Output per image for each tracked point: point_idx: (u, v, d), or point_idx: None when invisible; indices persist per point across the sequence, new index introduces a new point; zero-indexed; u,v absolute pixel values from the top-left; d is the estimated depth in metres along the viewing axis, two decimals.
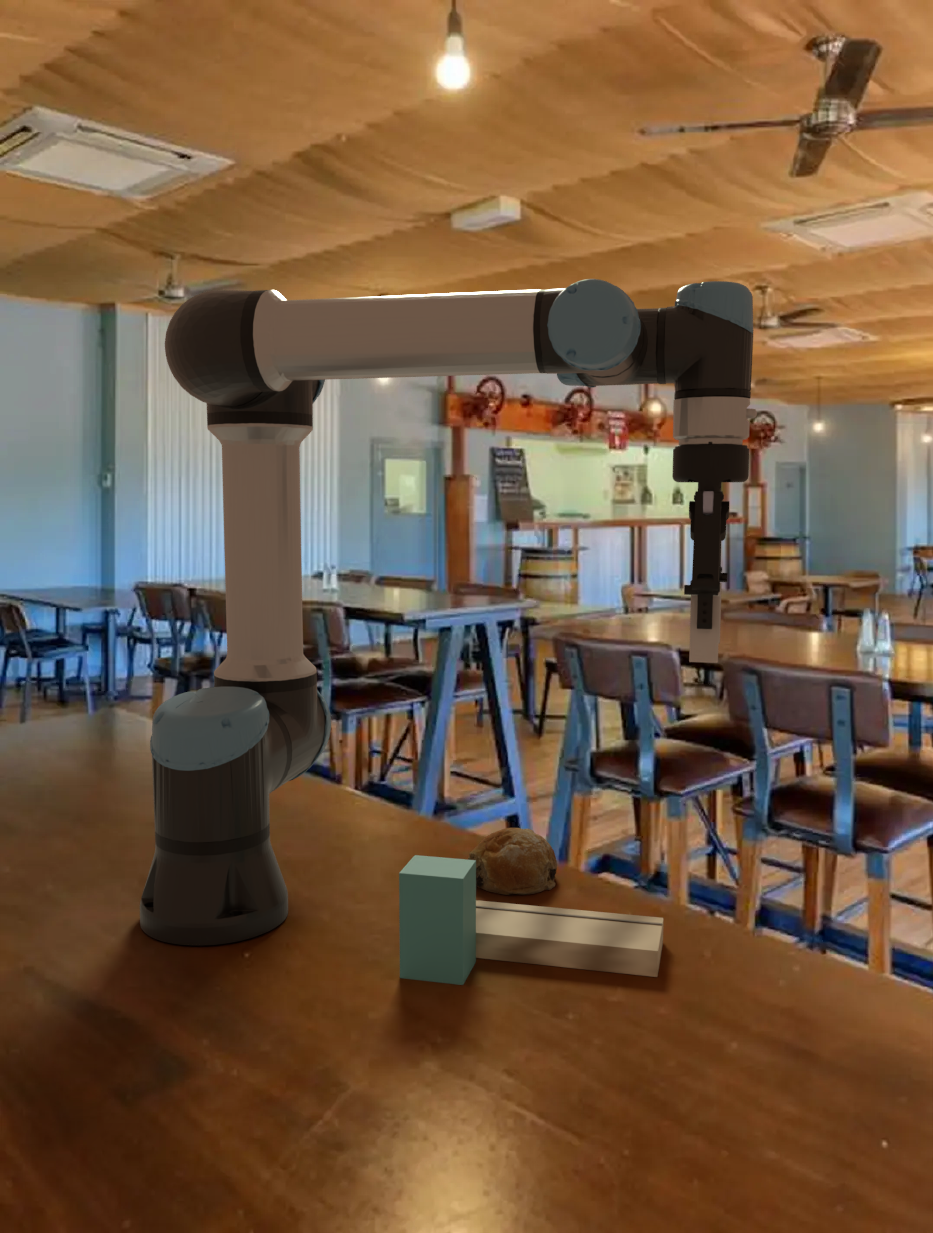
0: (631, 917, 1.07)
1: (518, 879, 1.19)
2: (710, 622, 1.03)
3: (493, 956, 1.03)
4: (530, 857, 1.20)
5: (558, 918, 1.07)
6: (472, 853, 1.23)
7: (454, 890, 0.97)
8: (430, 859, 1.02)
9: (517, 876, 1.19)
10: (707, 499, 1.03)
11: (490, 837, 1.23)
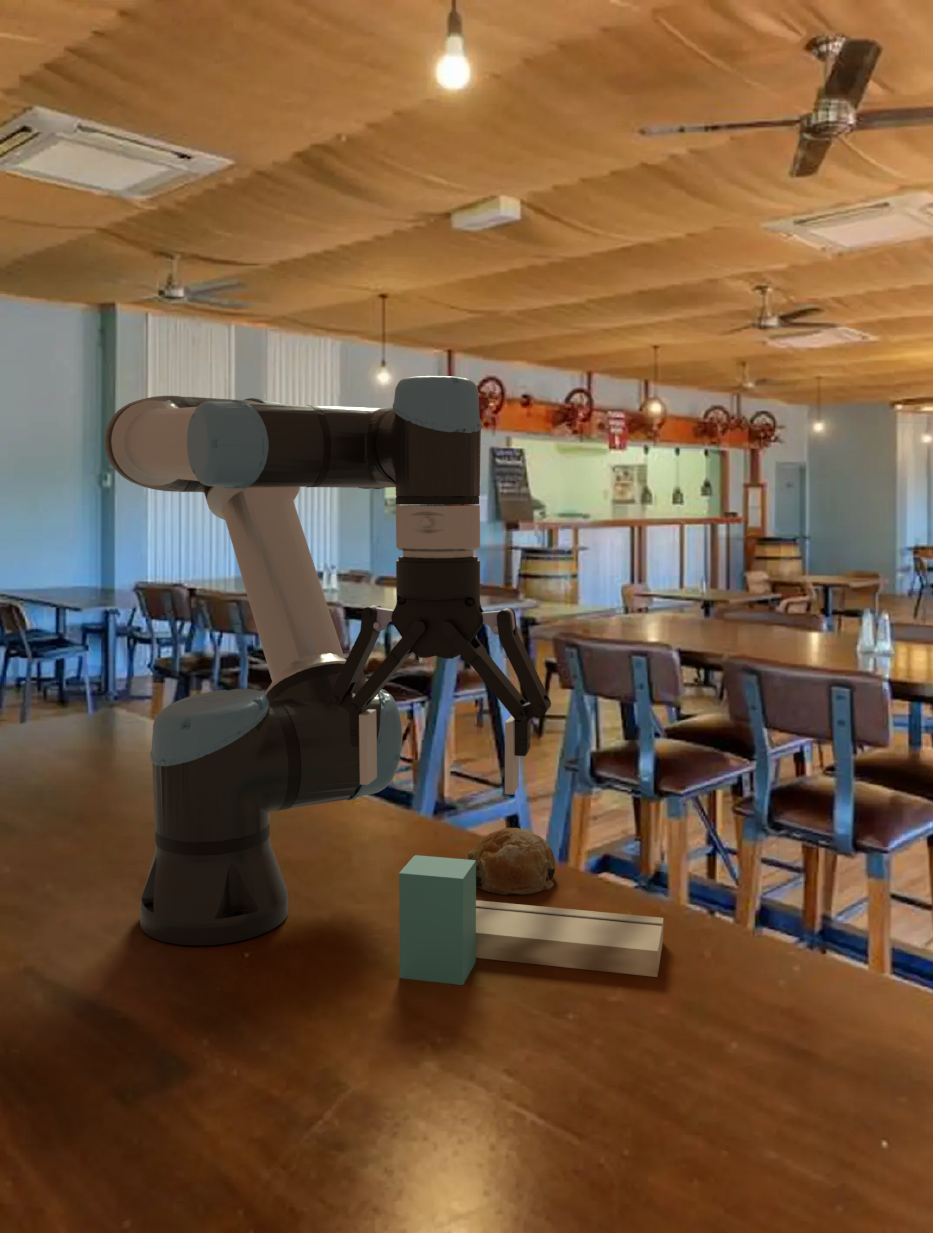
0: (631, 917, 1.07)
1: (516, 879, 1.19)
2: (350, 738, 1.00)
3: (493, 956, 1.03)
4: (528, 857, 1.20)
5: (558, 918, 1.07)
6: (471, 853, 1.23)
7: (454, 890, 0.97)
8: (430, 859, 1.02)
9: (516, 876, 1.19)
10: None
11: (489, 837, 1.23)
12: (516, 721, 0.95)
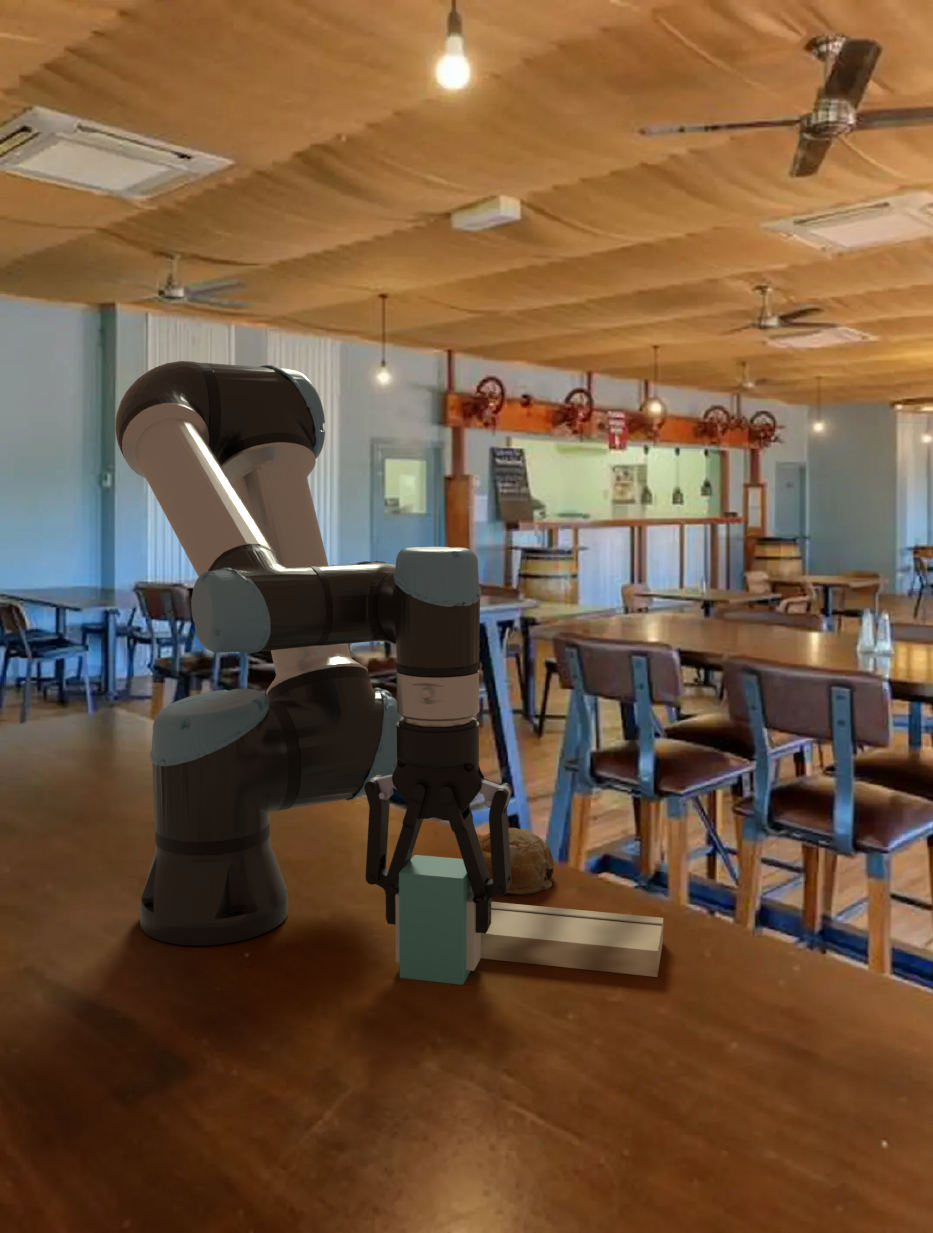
0: (631, 917, 1.07)
1: (515, 879, 1.19)
2: (386, 916, 1.01)
3: (493, 956, 1.03)
4: (526, 857, 1.20)
5: (558, 918, 1.07)
6: None
7: (454, 890, 0.97)
8: (430, 858, 1.02)
9: (514, 876, 1.19)
10: None
11: (487, 837, 1.23)
12: (475, 900, 0.98)
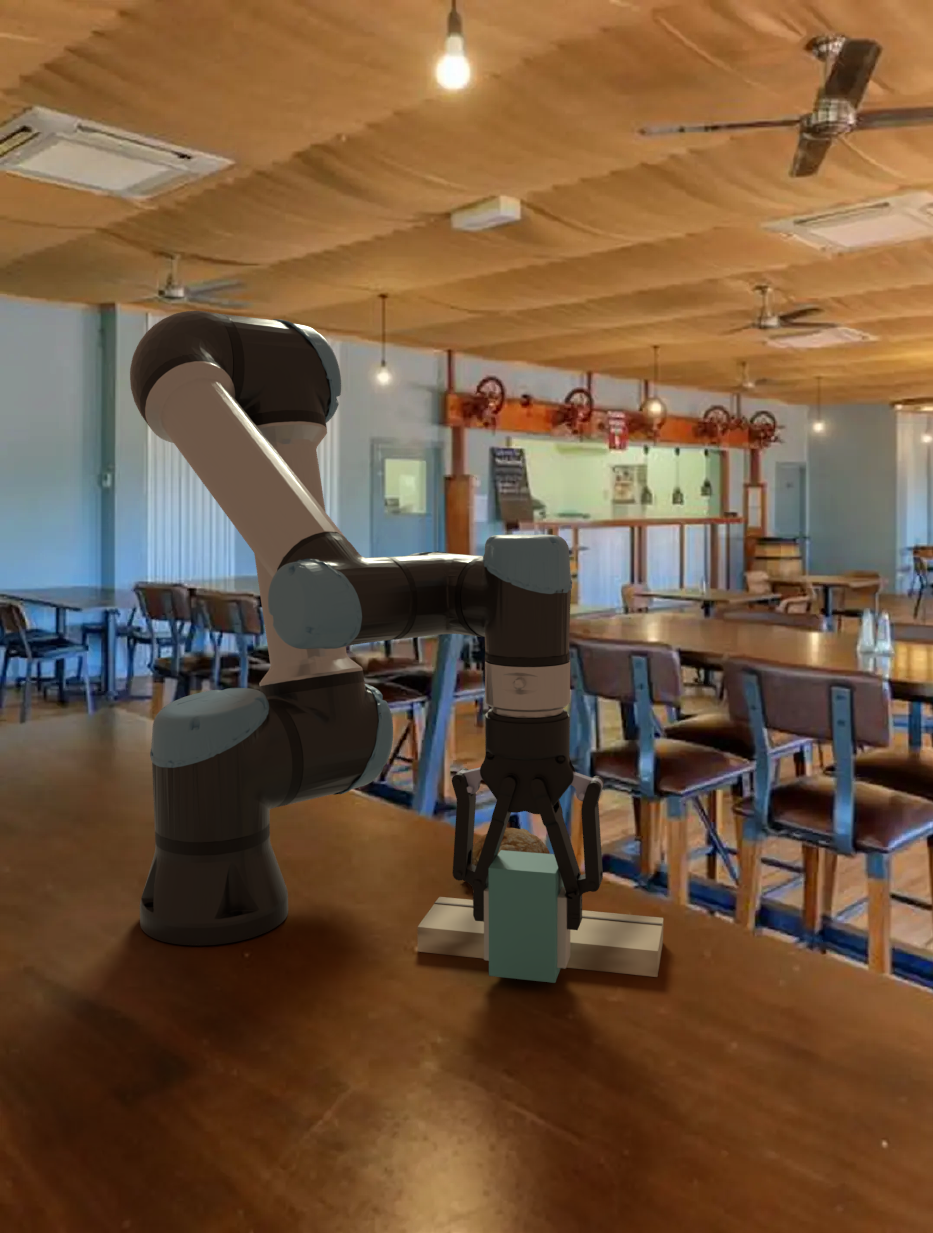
0: (631, 917, 1.07)
1: None
2: None
3: None
4: None
5: None
6: None
7: (546, 885, 0.95)
8: (518, 854, 1.00)
9: None
10: None
11: (485, 837, 1.23)
12: (567, 896, 0.95)
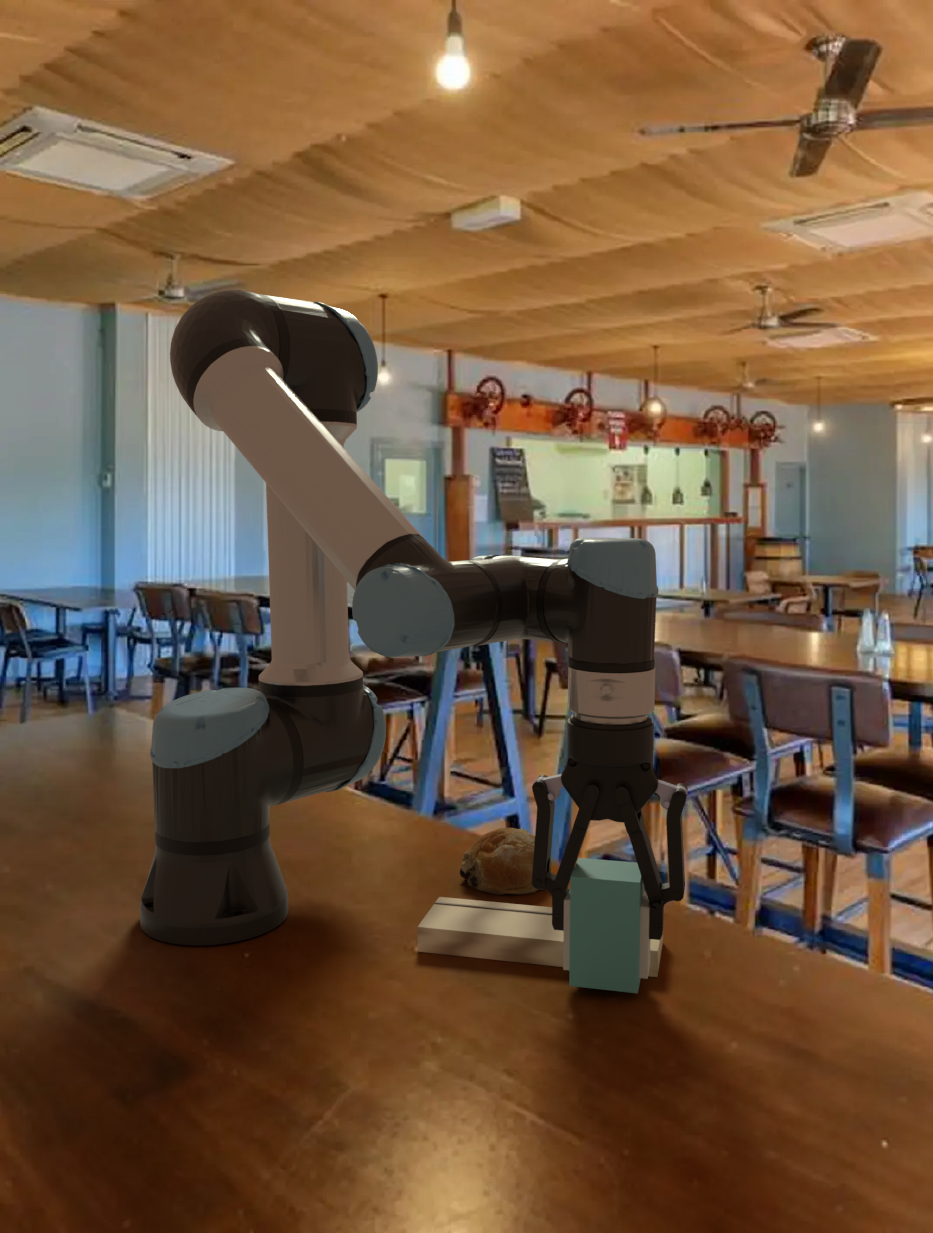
0: None
1: (512, 879, 1.19)
2: (552, 921, 0.97)
3: (493, 956, 1.03)
4: (524, 857, 1.20)
5: None
6: (466, 853, 1.23)
7: (630, 894, 0.93)
8: (597, 862, 0.98)
9: (511, 876, 1.19)
10: None
11: (484, 837, 1.23)
12: (650, 906, 0.94)
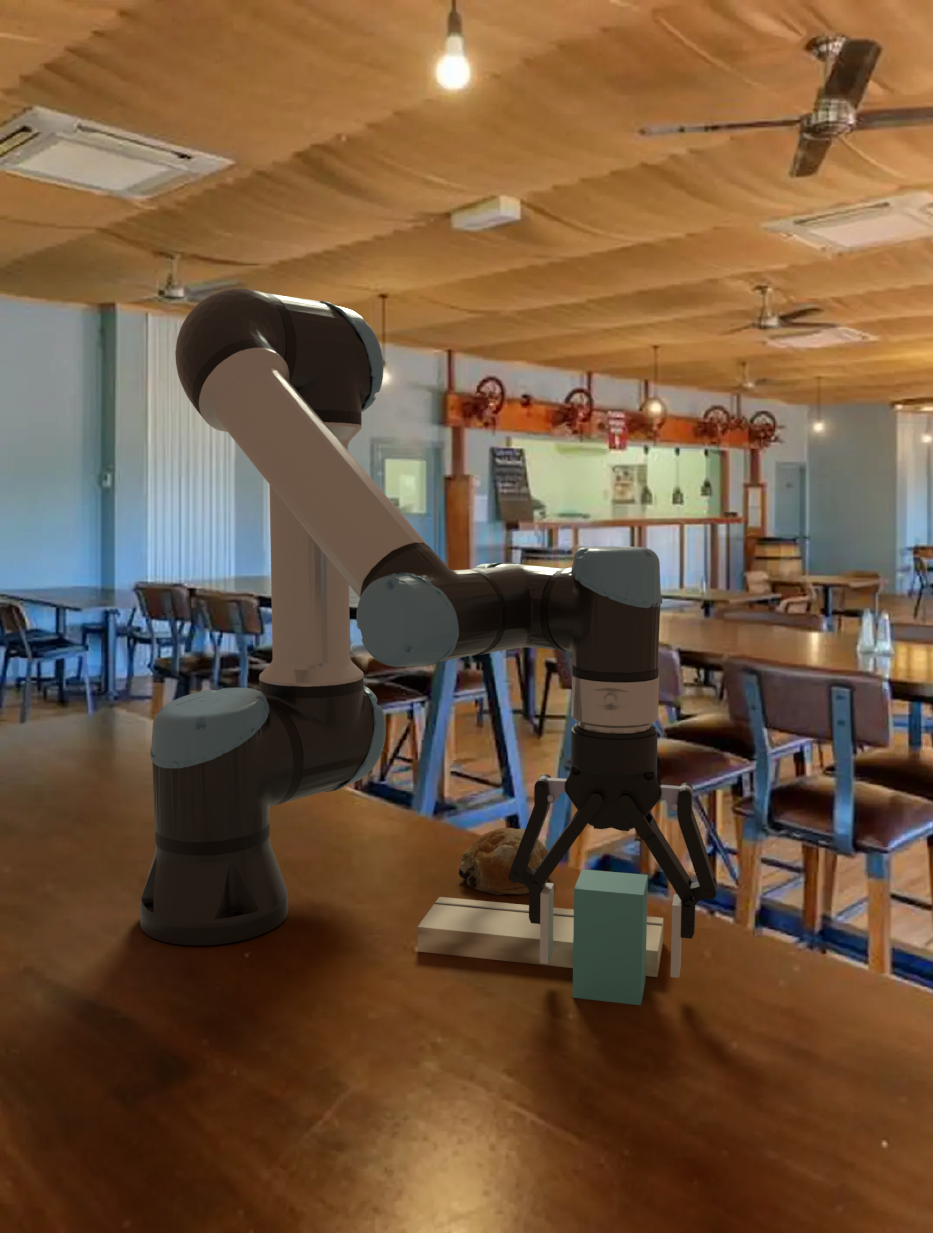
0: None
1: None
2: (529, 915, 0.98)
3: (493, 956, 1.03)
4: None
5: (558, 918, 1.07)
6: (465, 853, 1.23)
7: (633, 907, 0.93)
8: (600, 873, 0.98)
9: None
10: None
11: (483, 837, 1.23)
12: (684, 905, 0.93)
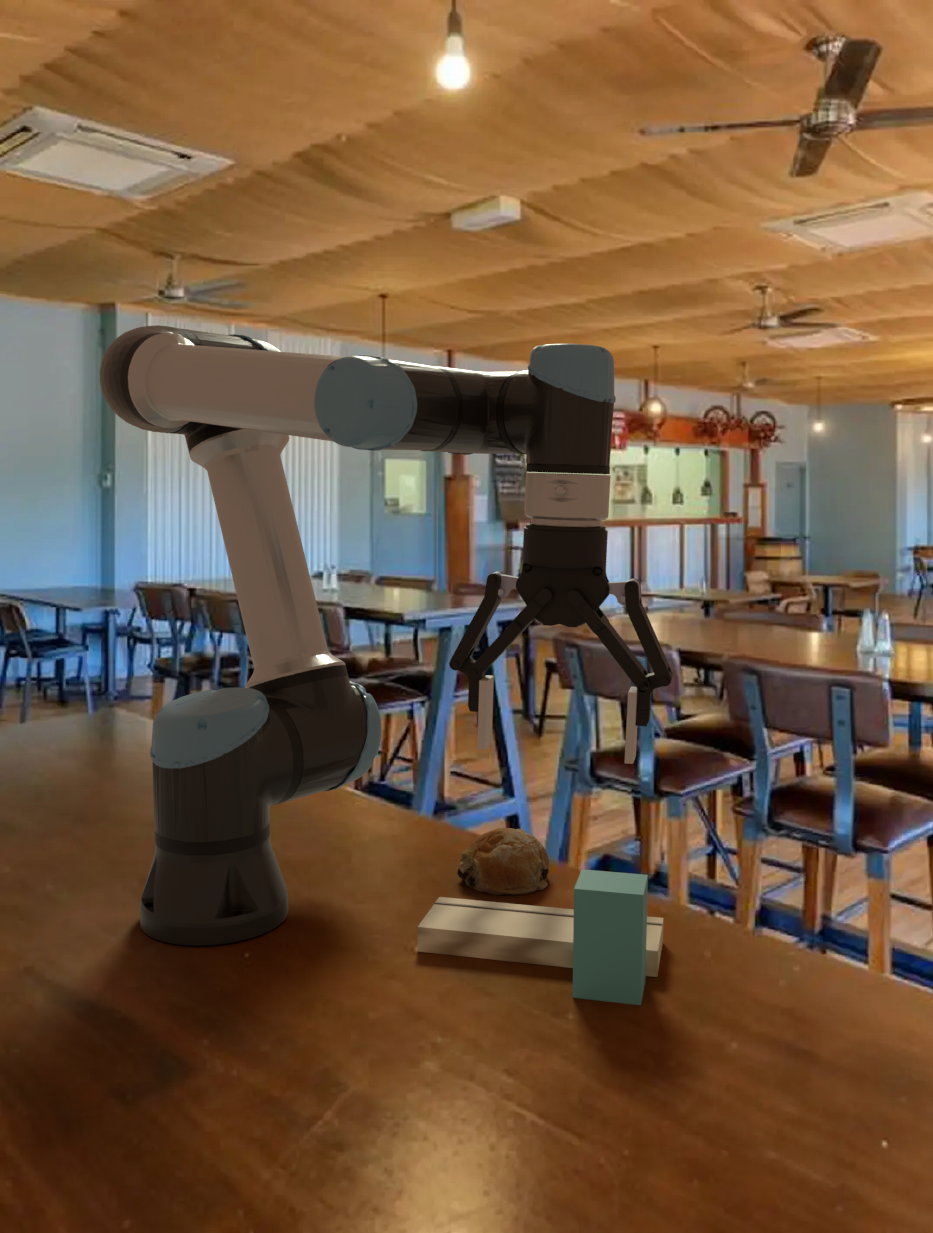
0: None
1: (510, 879, 1.19)
2: None
3: (493, 956, 1.03)
4: (522, 857, 1.20)
5: (558, 918, 1.07)
6: (464, 853, 1.23)
7: (633, 907, 0.93)
8: (600, 873, 0.98)
9: (509, 876, 1.19)
10: None
11: (482, 837, 1.23)
12: (640, 691, 0.95)
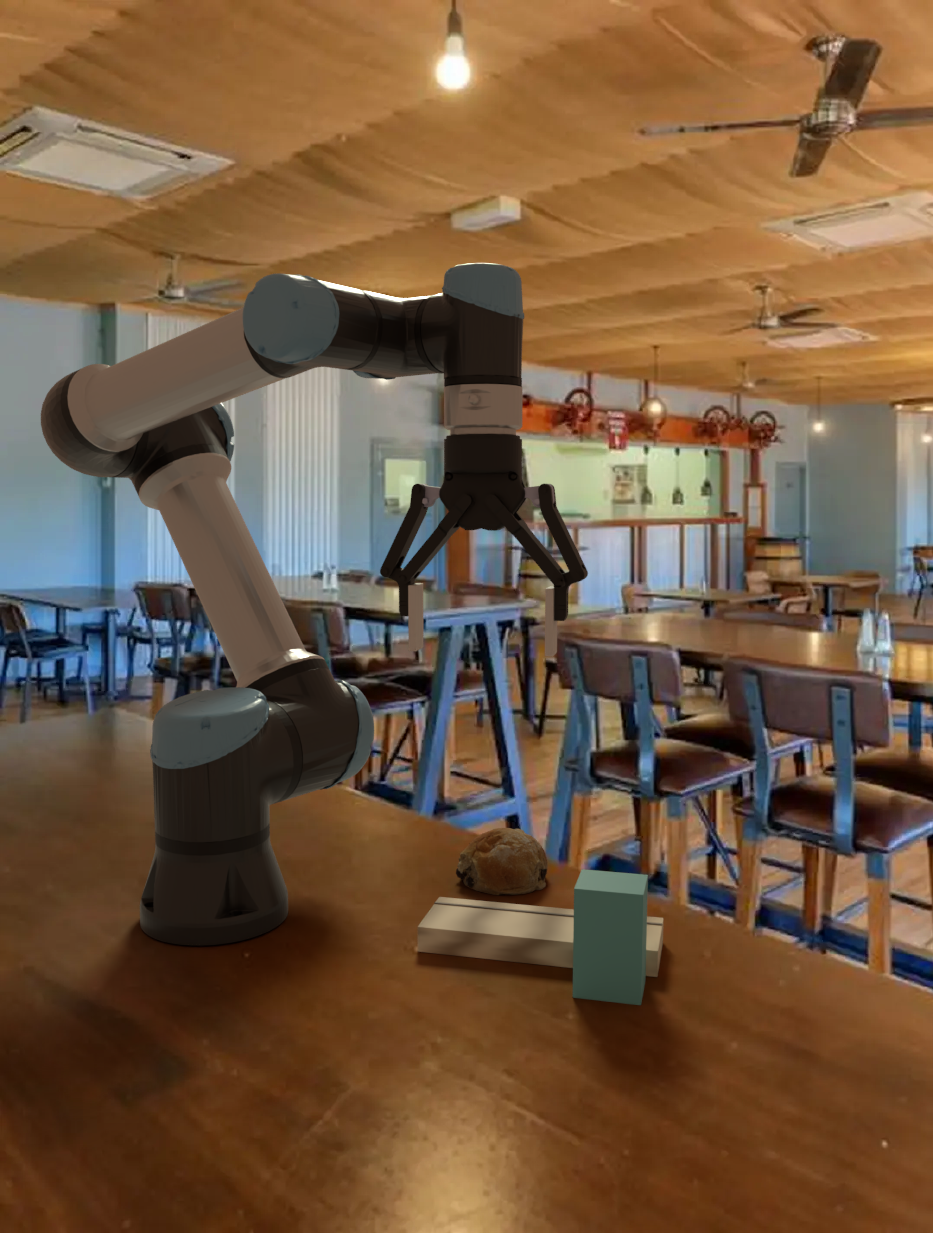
0: None
1: (509, 879, 1.19)
2: None
3: (493, 956, 1.03)
4: (520, 857, 1.20)
5: (558, 918, 1.07)
6: (463, 853, 1.23)
7: (633, 907, 0.93)
8: (600, 873, 0.98)
9: (508, 876, 1.19)
10: None
11: (481, 837, 1.23)
12: (556, 587, 1.02)
